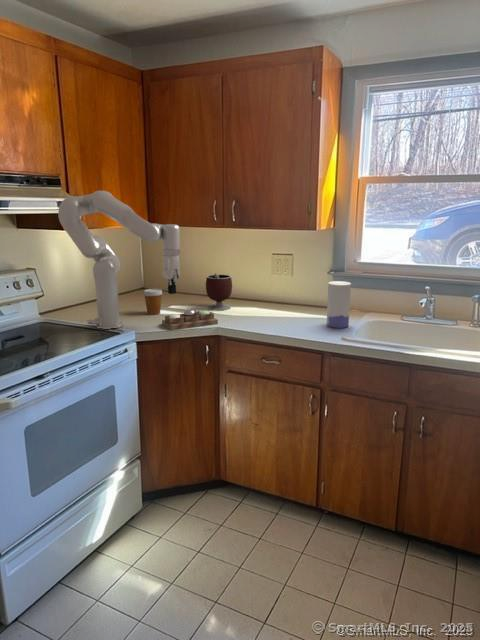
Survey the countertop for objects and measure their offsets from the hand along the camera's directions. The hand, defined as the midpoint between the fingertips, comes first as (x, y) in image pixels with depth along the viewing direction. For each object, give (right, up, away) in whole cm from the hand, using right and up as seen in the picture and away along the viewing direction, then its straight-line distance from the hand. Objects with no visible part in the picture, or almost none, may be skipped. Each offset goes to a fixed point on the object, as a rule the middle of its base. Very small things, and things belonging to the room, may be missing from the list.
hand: (172, 293), depth 214 cm
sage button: (+14, -11, +10) cm, 20 cm away
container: (+76, -15, +5) cm, 77 cm away
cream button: (+1, -12, +3) cm, 13 cm away
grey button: (+7, -10, +6) cm, 14 cm away
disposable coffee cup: (-13, -9, +27) cm, 31 cm away
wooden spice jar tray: (+7, -14, +7) cm, 17 cm away
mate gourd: (+20, -6, +38) cm, 43 cm away
